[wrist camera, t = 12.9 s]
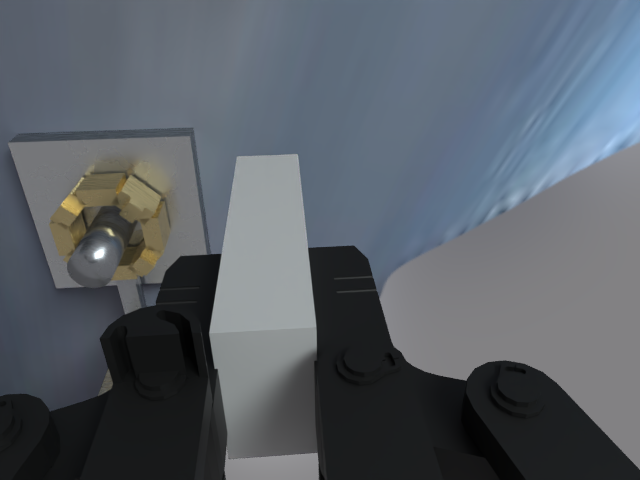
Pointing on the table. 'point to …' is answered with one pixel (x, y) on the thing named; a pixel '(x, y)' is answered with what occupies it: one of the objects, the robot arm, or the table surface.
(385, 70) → the table surface
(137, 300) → the ring nut
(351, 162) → the table surface
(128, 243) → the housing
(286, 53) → the table surface
